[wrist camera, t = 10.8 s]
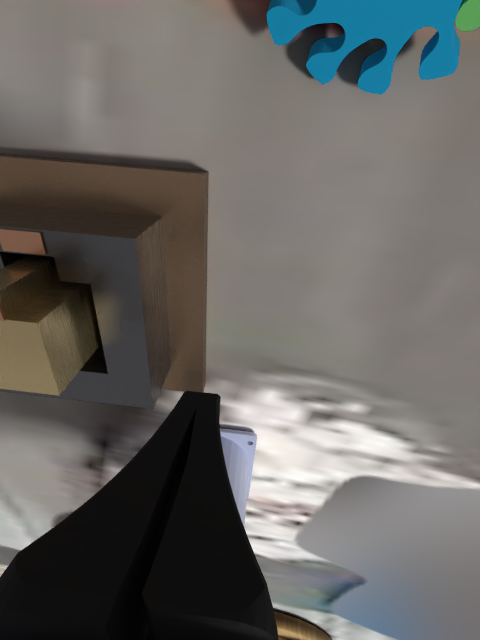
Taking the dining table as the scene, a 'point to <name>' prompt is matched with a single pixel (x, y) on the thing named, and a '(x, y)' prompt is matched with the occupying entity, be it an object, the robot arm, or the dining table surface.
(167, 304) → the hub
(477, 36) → the dining table surface
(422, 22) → the gear
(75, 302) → the keyed shaft
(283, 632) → the wooden plate with food
